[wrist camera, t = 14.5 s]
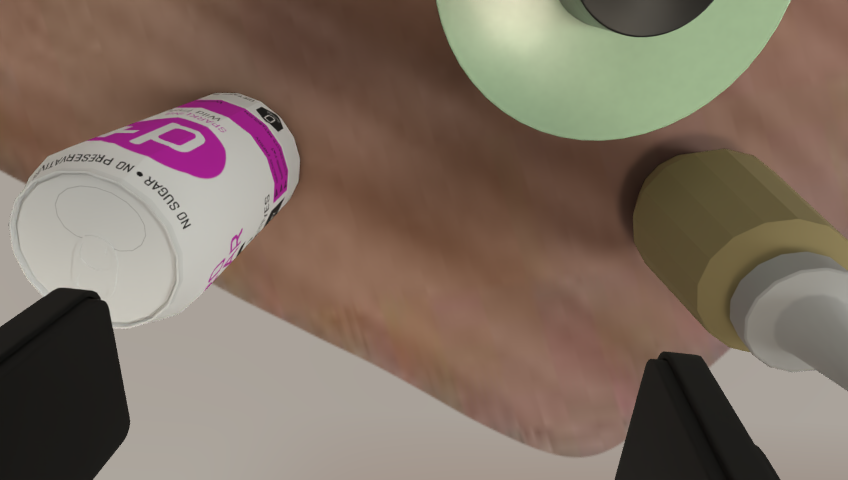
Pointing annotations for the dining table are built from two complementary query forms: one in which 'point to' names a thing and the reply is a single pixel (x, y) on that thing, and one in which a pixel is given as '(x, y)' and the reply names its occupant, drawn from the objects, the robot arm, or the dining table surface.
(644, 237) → the squeeze bottle
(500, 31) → the lid
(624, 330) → the dining table surface
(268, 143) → the supplement can
